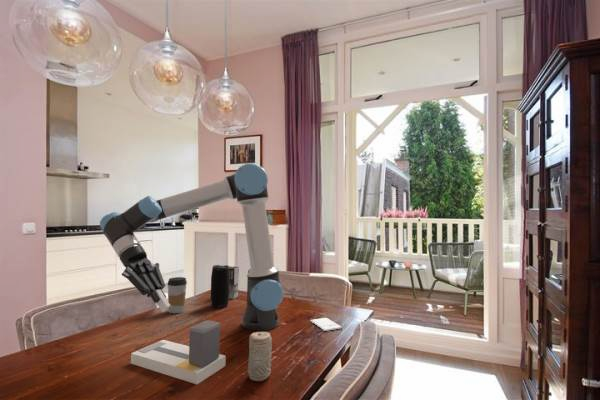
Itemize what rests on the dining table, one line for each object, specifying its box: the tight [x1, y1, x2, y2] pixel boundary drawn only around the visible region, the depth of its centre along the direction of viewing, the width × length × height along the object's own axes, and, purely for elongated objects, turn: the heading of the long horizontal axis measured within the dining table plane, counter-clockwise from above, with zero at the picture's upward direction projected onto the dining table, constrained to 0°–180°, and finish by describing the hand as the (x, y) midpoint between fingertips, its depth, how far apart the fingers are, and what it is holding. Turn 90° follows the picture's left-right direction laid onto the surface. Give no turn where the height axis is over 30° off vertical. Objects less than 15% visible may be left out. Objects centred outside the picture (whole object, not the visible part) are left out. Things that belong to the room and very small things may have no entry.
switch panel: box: [130, 339, 227, 385], centre depth 99 cm, size 26×12×3 cm, turn 65°
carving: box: [247, 331, 273, 382], centre depth 92 cm, size 6×8×12 cm
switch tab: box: [188, 319, 221, 367], centre depth 95 cm, size 5×7×10 cm
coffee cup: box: [167, 276, 188, 315], centre depth 150 cm, size 8×8×15 cm
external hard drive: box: [309, 317, 343, 332], centre depth 135 cm, size 2×8×12 cm
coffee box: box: [228, 265, 240, 300], centre depth 177 cm, size 9×6×16 cm
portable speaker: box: [210, 264, 230, 309], centre depth 160 cm, size 9×9×20 cm
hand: (166, 308), depth 101 cm, fingers closed
